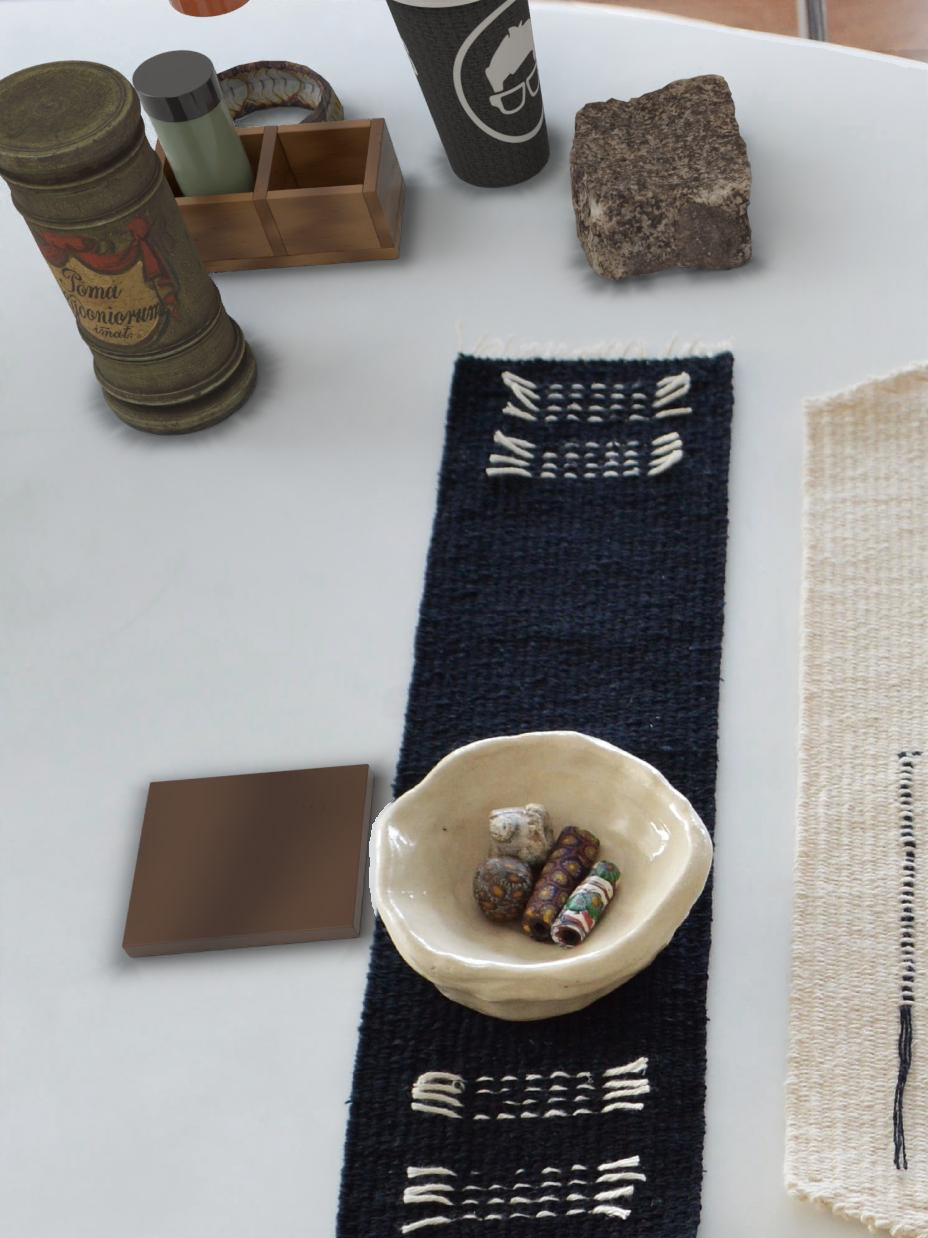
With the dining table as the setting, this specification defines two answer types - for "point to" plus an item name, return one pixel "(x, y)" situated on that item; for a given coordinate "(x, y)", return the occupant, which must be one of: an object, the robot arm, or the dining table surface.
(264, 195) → the spice rack
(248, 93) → the decorative ring
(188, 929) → the board
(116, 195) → the container
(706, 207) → the stone
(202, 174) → the jar
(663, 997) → the dining table surface
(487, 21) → the coffee cup
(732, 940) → the dining table surface
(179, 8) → the spice jar
